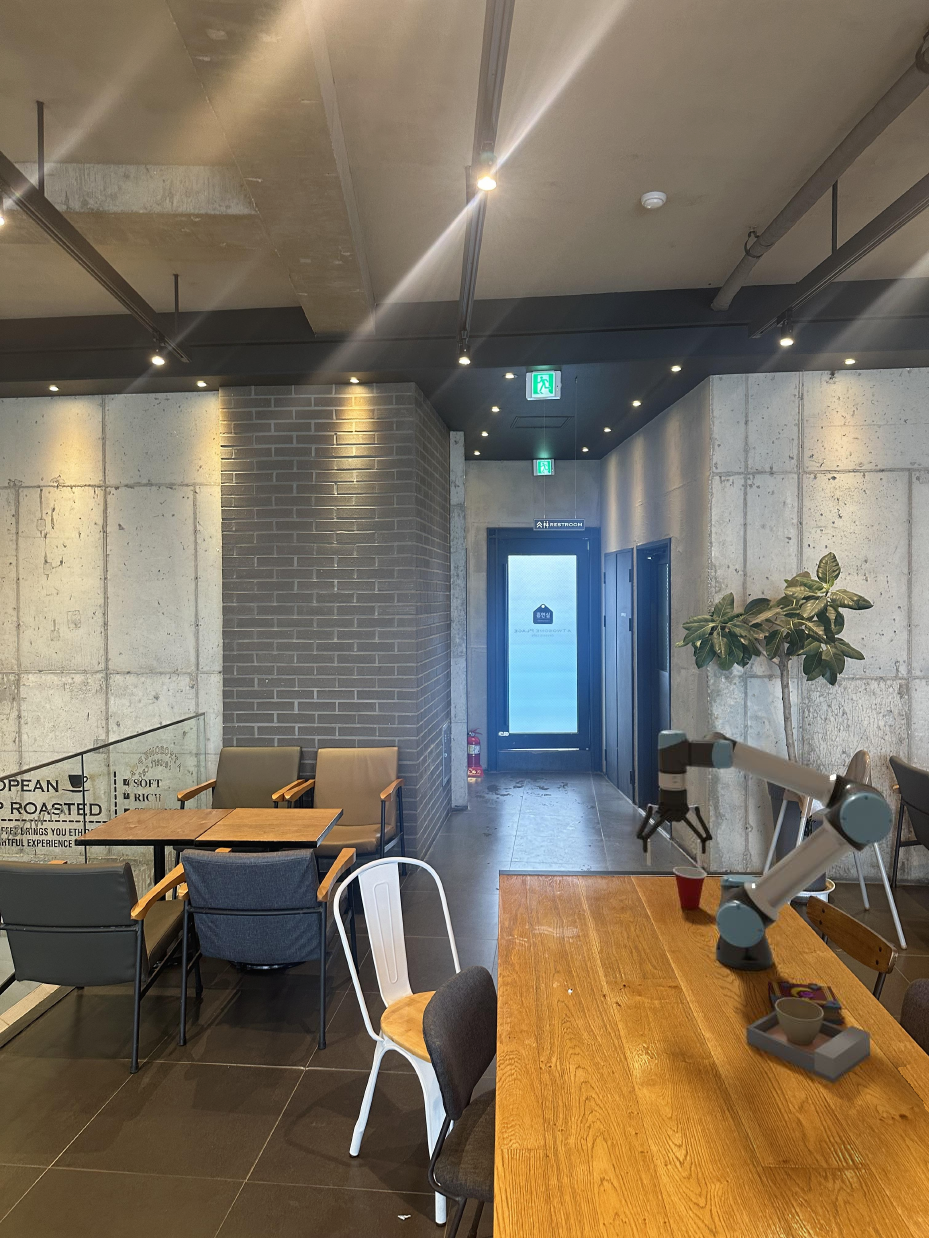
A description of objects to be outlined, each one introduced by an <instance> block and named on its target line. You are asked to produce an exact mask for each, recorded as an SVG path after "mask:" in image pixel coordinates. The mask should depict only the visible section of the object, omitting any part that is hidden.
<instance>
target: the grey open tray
mask: <svg viewBox="0 0 929 1238" xmlns="http://www.w3.org/2000/svg"><path fill="white" fill-rule="evenodd" d="M746 1044H748V1045H751V1046H753V1047H755V1048H757V1049H760V1050H761V1051H763V1052H766V1053H767V1054H770V1055H772V1056H774V1057H777V1058H779V1059H781V1060H783V1061H785V1062H788V1063H790V1064H791V1065H794V1066H796V1067H798V1068H800V1069H802V1070H805V1071H807V1072H808V1073H811V1074H813V1075H815V1076H817V1077H819V1078H821V1079H824V1080H826V1081H828V1082H830V1083H833V1084H834V1083H836V1082H837V1081H838V1080H839V1079H841V1078H842V1077H843V1076H845V1075H847V1074H848V1073H850V1071H852V1070H853V1069H855V1068H856V1067H857V1066H858V1065H860V1064H862V1063H863V1062H864V1061H865V1060H866V1059H867V1058H869V1057H870V1056H871V1033H870V1031H867V1030H864V1029H861V1028H859V1027H857V1026H854V1025H850V1026H849V1027H847V1028H846V1029H845V1028H843V1027H840V1026H837V1025H836V1024H830V1023H828V1022H825V1021H822V1024H821V1027H820V1030H819V1032H818V1034H817V1036H816V1038H815V1039H814V1040H813V1042H812V1043H811V1044H810V1045H806V1046H801V1045H796V1044H794V1043H792V1042H790V1041H789V1040H788V1039H787V1037H786V1035H785V1034H784V1032H783V1030H782V1028H781V1025H780V1023H779V1020H778V1017H777V1013H776V1010H775V1011H774V1012H772V1011H771V1012H770V1013H769V1014H767V1015H765V1016H763V1017H762V1018H760V1019H758V1020H756V1021H754V1022H753V1023H751V1024H749V1025H748V1026H746Z"/></svg>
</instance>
